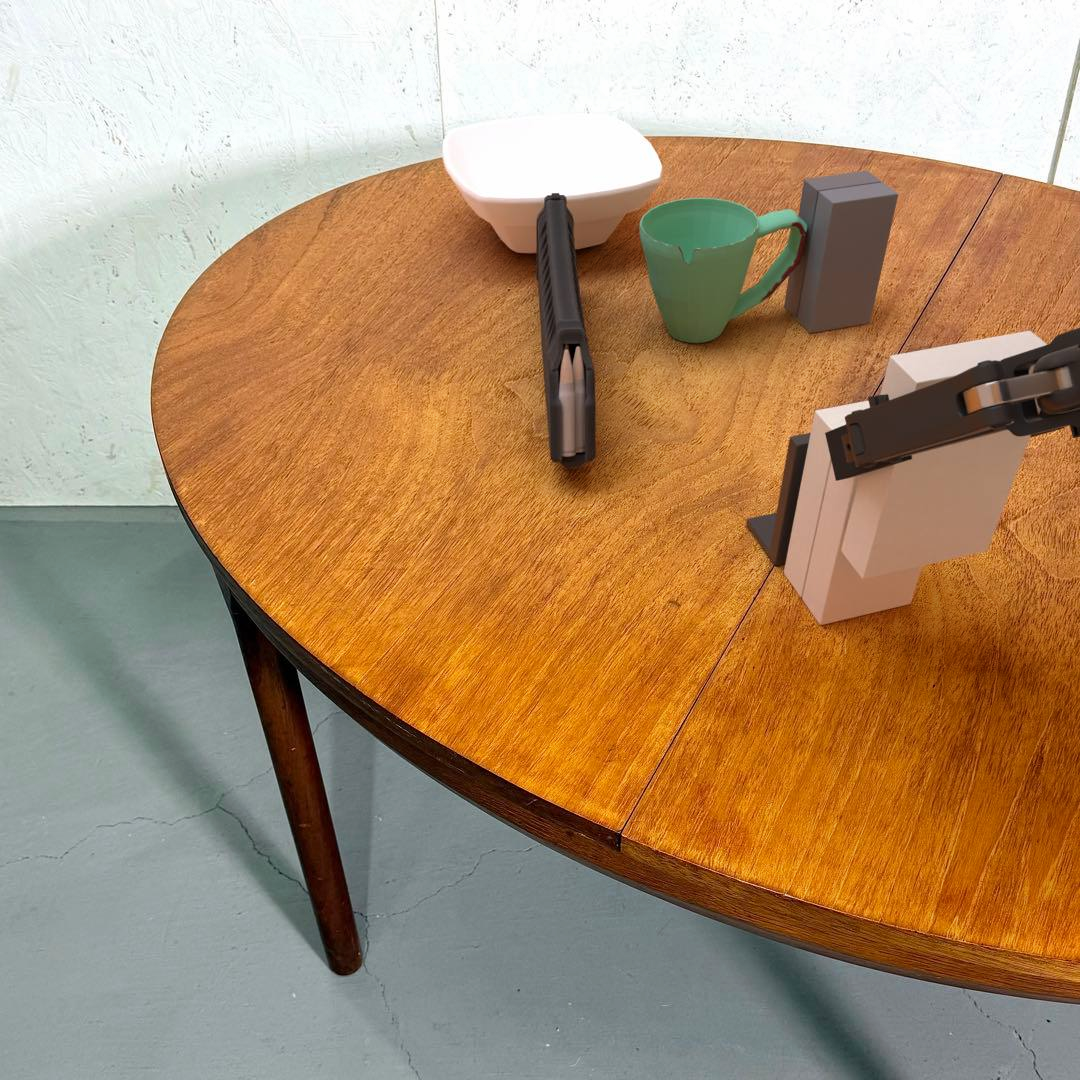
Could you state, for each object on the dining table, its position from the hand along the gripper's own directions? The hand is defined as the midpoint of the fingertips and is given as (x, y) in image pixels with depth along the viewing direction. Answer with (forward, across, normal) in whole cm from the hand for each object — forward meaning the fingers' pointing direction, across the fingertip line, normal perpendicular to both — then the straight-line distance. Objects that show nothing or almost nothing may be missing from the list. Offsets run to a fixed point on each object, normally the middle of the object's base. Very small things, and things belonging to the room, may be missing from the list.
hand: (907, 441), depth 59 cm
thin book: (+2, 0, -6) cm, 6 cm away
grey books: (+34, +16, +15) cm, 40 cm away
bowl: (+50, -3, +31) cm, 59 cm away
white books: (+13, 0, -6) cm, 14 cm away
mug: (+34, +6, +16) cm, 38 cm away
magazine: (+32, -10, +13) cm, 36 cm away
